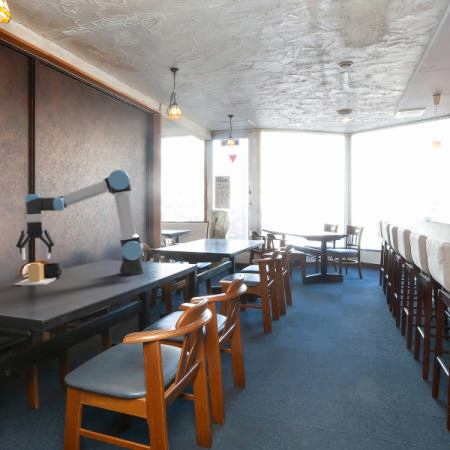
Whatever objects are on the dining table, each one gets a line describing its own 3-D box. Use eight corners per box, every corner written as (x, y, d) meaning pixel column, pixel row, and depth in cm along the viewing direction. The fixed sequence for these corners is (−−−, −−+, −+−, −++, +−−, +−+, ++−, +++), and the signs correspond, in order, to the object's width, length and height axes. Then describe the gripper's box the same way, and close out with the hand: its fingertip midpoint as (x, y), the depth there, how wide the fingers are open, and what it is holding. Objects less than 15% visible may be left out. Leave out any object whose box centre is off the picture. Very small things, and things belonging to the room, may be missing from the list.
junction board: (58, 278, 222) (58, 266, 222) (45, 284, 202) (44, 272, 202) (30, 278, 221) (30, 267, 220) (14, 285, 201) (14, 272, 201)
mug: (56, 281, 215) (55, 265, 214) (38, 280, 218) (38, 265, 217) (66, 278, 224) (66, 263, 224) (49, 277, 227) (49, 262, 226)
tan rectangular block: (43, 279, 213) (43, 262, 213) (39, 281, 207) (38, 263, 207) (33, 279, 213) (32, 262, 212) (28, 281, 207) (27, 264, 206)
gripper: (59, 220, 213) (61, 257, 214) (14, 222, 211) (16, 259, 212) (54, 221, 206) (56, 259, 207) (7, 222, 204) (10, 260, 205)
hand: (36, 259), depth 209 cm, fingers open, 13 cm apart
